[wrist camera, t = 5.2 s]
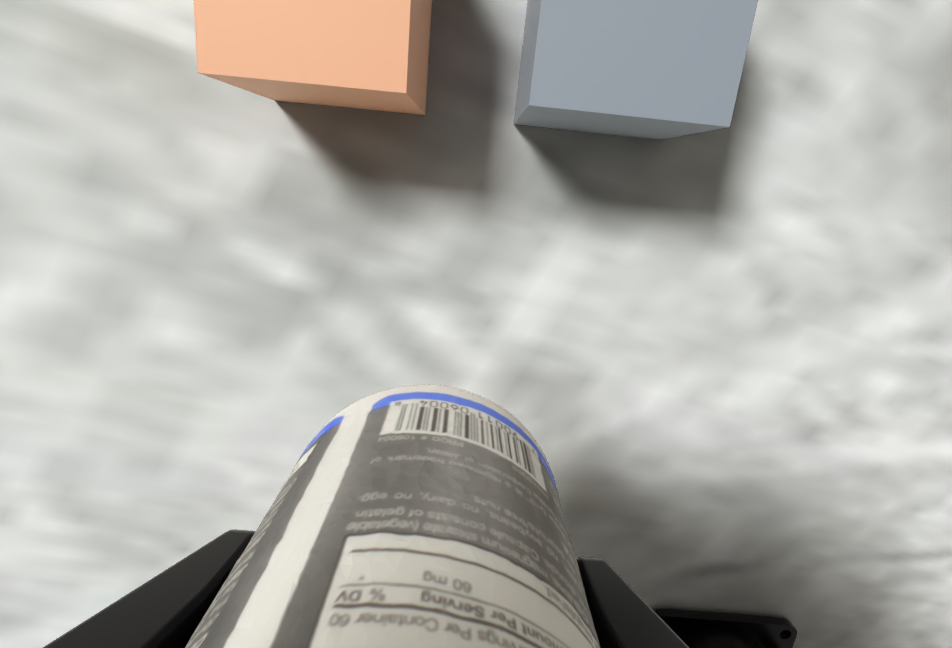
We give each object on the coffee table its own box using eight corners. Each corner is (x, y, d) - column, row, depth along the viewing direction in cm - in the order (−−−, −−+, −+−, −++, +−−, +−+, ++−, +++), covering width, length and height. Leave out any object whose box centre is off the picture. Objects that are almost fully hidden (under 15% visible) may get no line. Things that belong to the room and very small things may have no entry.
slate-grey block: (690, -29, 16) (783, -115, 11) (659, 139, 17) (730, 126, 13) (532, -48, 16) (558, -143, 11) (513, 124, 17) (528, 105, 13)
